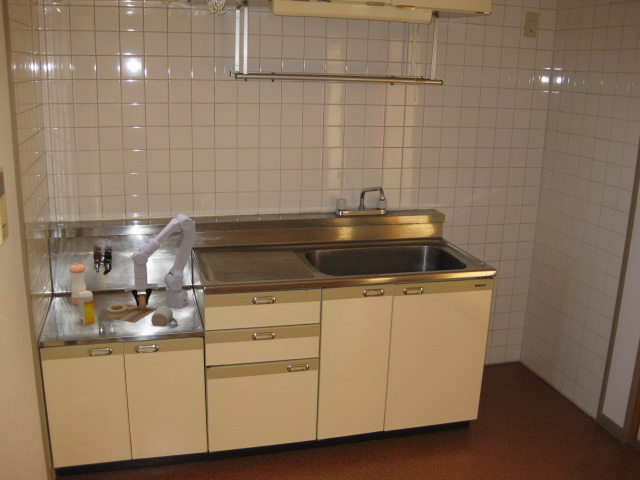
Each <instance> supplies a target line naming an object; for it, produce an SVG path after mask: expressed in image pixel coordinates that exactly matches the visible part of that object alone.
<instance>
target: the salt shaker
mask: <svg viewBox="0 0 640 480" xmlns="http://www.w3.org/2000/svg"><path fill="white" fill-rule="evenodd" d="M68 268H69V269H68V270H69V272H70V274H71V285H70V286H71V288H70V289H71V297H70V301H71V304H72V305H76V306H79V305H78V294H79V292H80V291H85V290H87V285H86V281H85V274H84V273H85V270H86V267H85V265H84V264H80V263H79V262H76V263H74V264H72V265H70V267H68Z"/></svg>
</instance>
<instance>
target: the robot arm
mask: <svg viewBox="0 0 640 480" xmlns="http://www.w3.org/2000/svg"><path fill="white" fill-rule="evenodd" d="M178 232H181V233H182V234H183V237H182V241H181V244H180V245H179V249H178V252H177V254H176V257H175V259H174V263H173V265H172V267H170V269H169V270H168V273H167V274H165V276H164V279H163V280H164V283H165V284H166V287H165V297H166V298H165V302H166V304H165V305H166V306H167V307H169V308H177V309H183V308H184V307H186V306H187V305H188V304H189V296H188V295H189V294H188V291H187V290H185V289H184V288H183V285H184V284H183V283H184V278H185V277H184V276H185V275H184V271H185V268H186V265H187V263H188V261H189V257H190V255H191V251H192V250H193V247H194V244H195V241H196V239H197V232H196V224H195V222H194V220H193V219H192V218H191V217H189V216H188V215H186V214H185V213H184V212H183V213H182V212H181V213H178V214H176V216H175V217H173V218H171V219H170V222H169V223H168V224H167V225H165V227H164V228H163V229H162V230H160V232H159V233H158V234H157V235H156V236H155V237H152V238H149V239H146V241H145V243H144V244H143V245H142V246H141V247H138V250H135V251H134V252H133V253H132V255H131V259H132V261H133V280H134V284H132V285H129V286H127V285H126V286H124V292H125V293H128V292H131V294H132V296H133V298H134V301H135V303H136V305H135V306H138V294H139V293H138V291H144V290H145V291H144V292H145V294H146V306H149V300H150V299H151V298H150V297H151V295H152V294H153V290H154V289H155V290H158V289H159V285H158V283H148V280H149V279H148V267H147V266H148V265H147V263H148V261H149V258H150V257H152V256H153V254H154V253H156V252H157V250H159V248H161V244H162V242H164V241H165V240H166V239H167V238H168V237H170V236H171V235H172V234H173V233H178Z"/></svg>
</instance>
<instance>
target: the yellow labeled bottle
mask: <svg viewBox="0 0 640 480" xmlns="http://www.w3.org/2000/svg"><path fill="white" fill-rule="evenodd" d="M77 306H78V314H79V315H78V316H79V324H80V325H81V326H90V325H94V324H95V323H96V321H95V319H96V318H95V308H94V307H95V306H94V294H93V292H92V291H91V290H87V289H86V290H85V291H80V292H79V294H78V305H77Z"/></svg>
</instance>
